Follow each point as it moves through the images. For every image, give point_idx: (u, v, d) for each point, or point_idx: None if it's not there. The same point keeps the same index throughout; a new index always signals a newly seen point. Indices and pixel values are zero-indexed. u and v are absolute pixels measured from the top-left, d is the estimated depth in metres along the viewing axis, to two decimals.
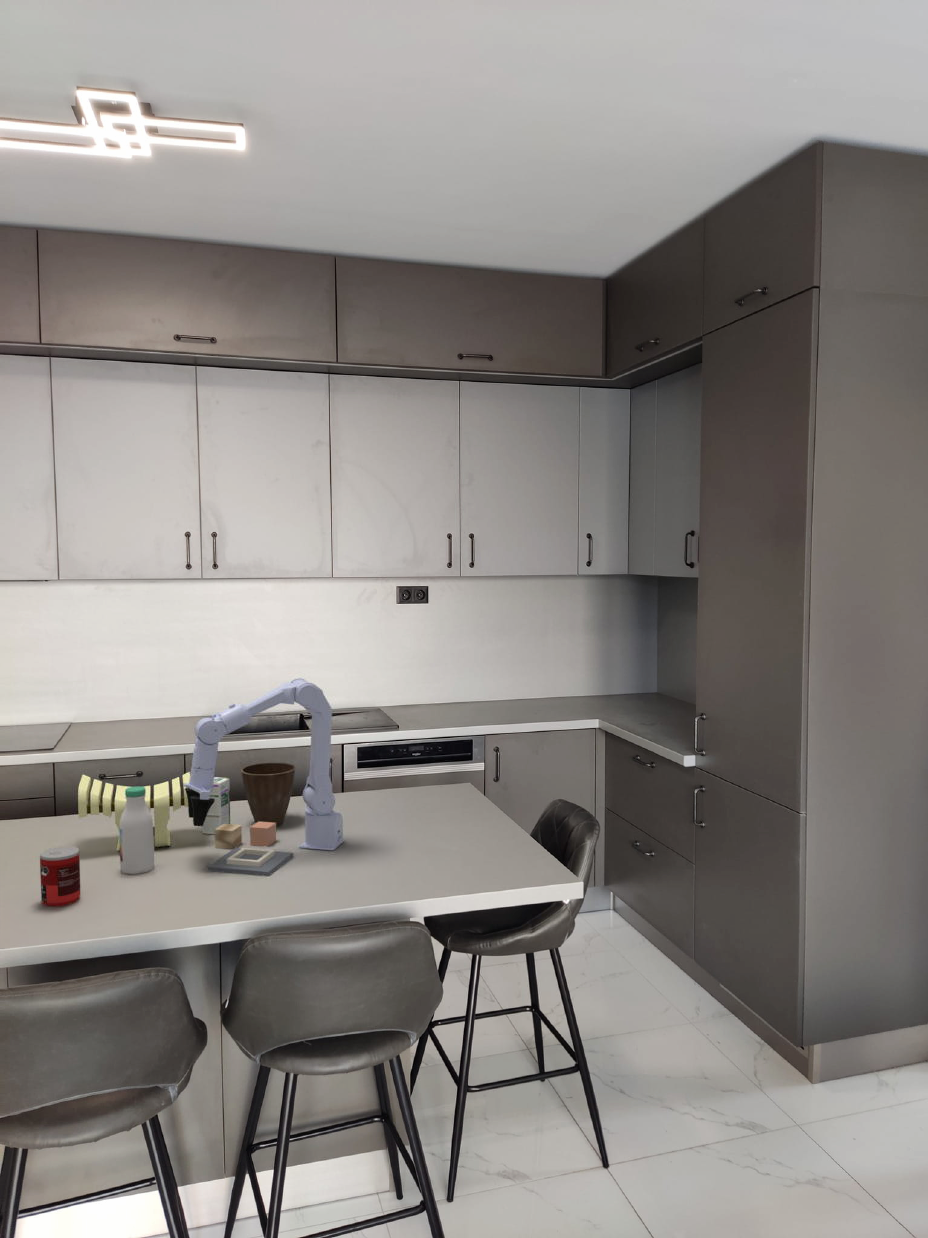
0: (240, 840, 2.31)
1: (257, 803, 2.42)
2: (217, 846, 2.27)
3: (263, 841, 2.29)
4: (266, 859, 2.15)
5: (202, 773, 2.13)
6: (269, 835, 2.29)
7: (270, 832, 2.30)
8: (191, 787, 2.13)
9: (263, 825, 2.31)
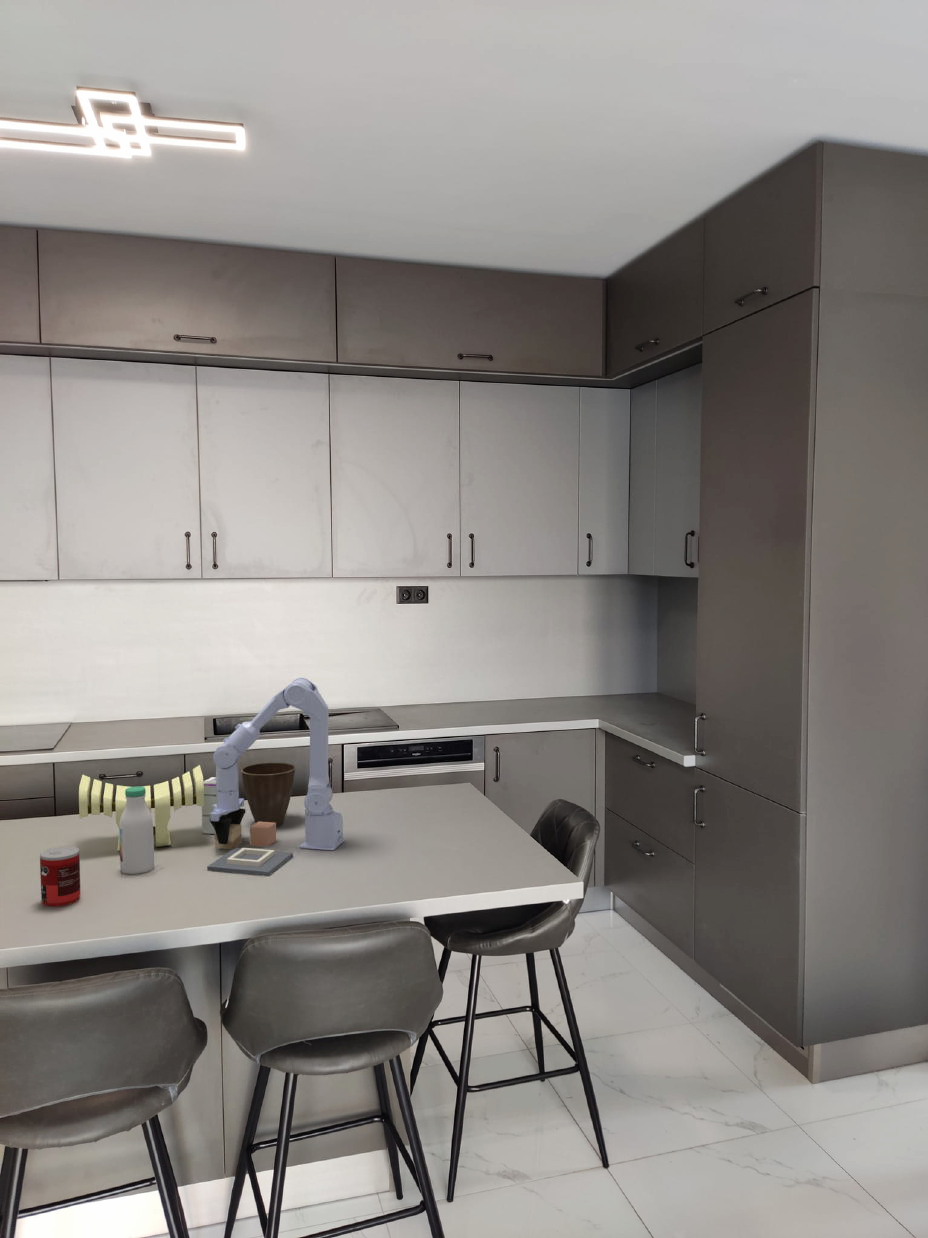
0: (240, 840, 2.31)
1: (257, 803, 2.42)
2: (217, 846, 2.27)
3: (263, 841, 2.29)
4: (266, 859, 2.15)
5: (220, 795, 2.26)
6: (269, 835, 2.29)
7: (270, 832, 2.30)
8: (215, 808, 2.27)
9: (263, 825, 2.31)
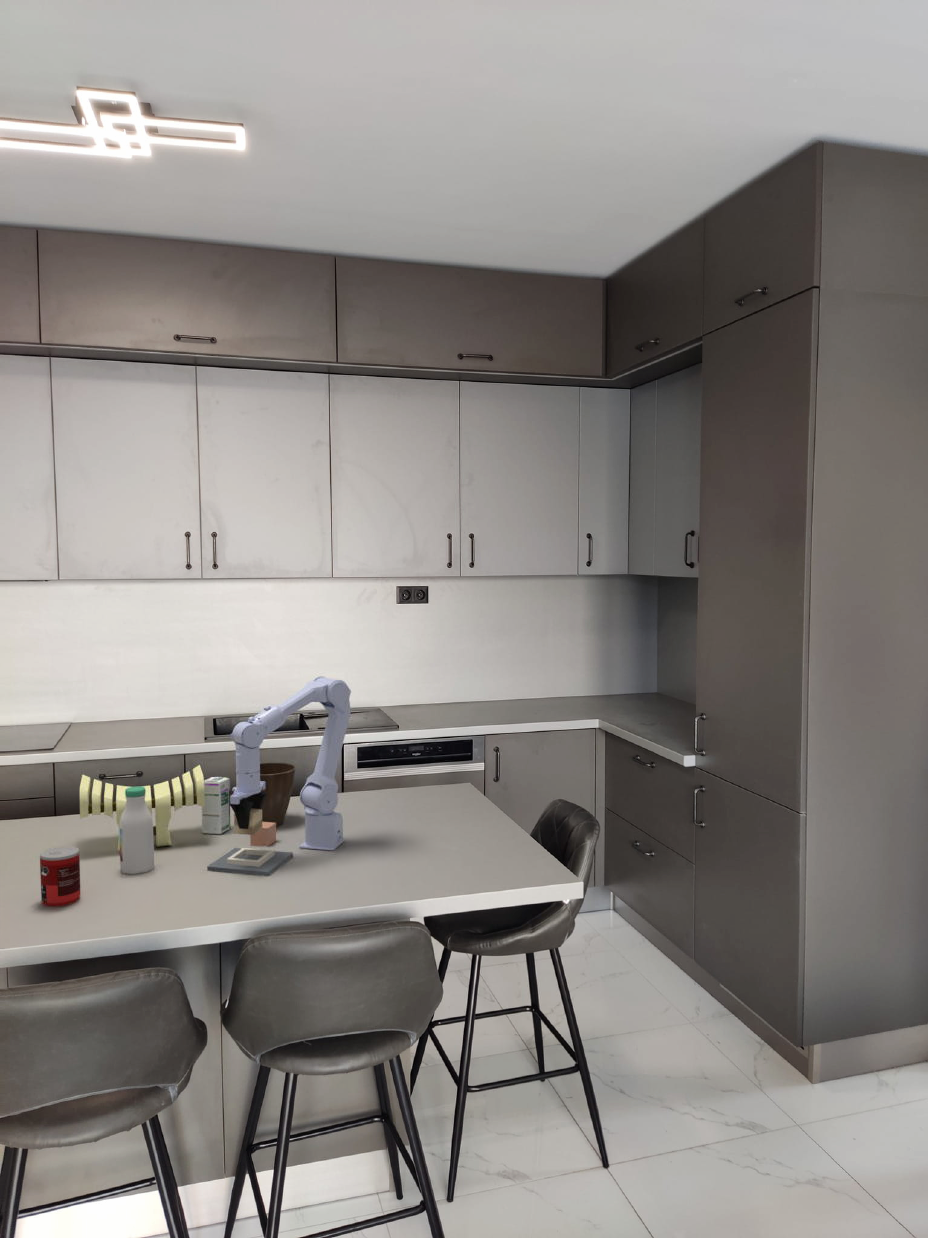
0: (261, 825, 2.18)
1: None
2: (236, 831, 2.14)
3: (263, 841, 2.29)
4: (266, 859, 2.15)
5: (240, 777, 2.13)
6: (269, 835, 2.29)
7: (270, 832, 2.30)
8: (235, 791, 2.14)
9: (263, 825, 2.31)
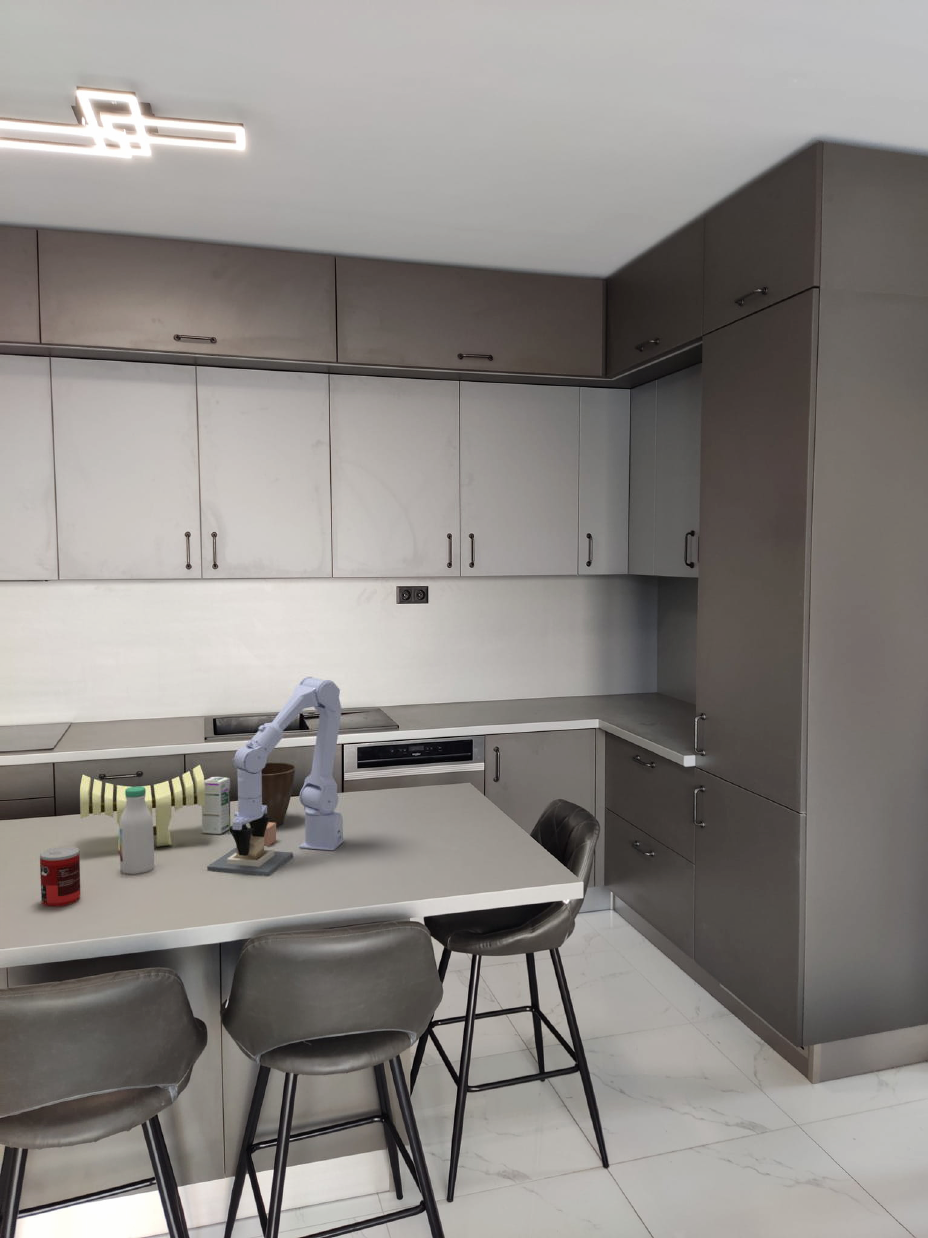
0: (263, 853, 2.17)
1: None
2: None
3: None
4: (266, 859, 2.15)
5: (242, 802, 2.12)
6: (269, 835, 2.29)
7: (270, 832, 2.30)
8: (237, 816, 2.14)
9: None
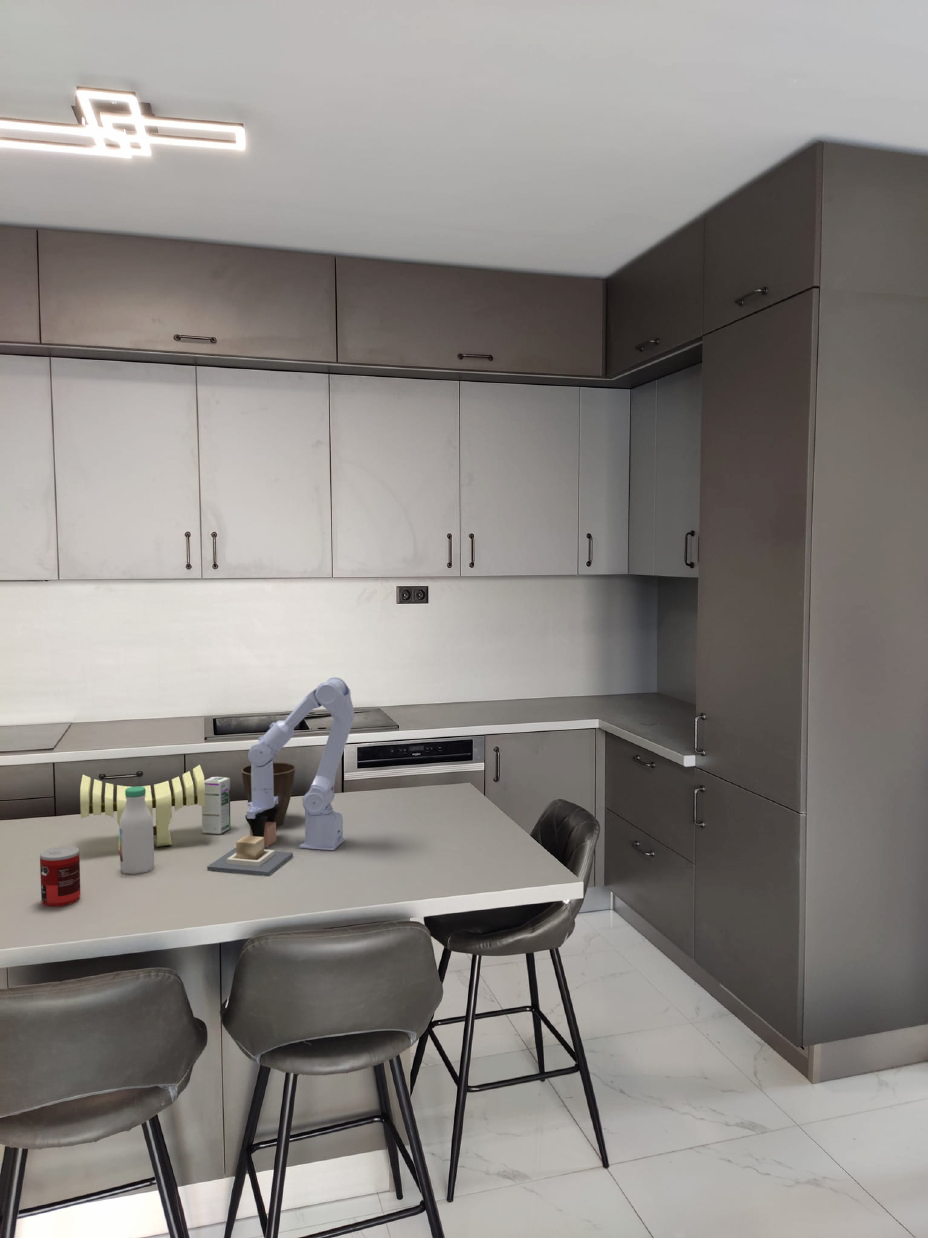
0: (263, 853, 2.17)
1: None
2: None
3: None
4: (266, 859, 2.15)
5: (255, 793, 2.28)
6: (269, 835, 2.29)
7: (270, 831, 2.30)
8: None
9: None
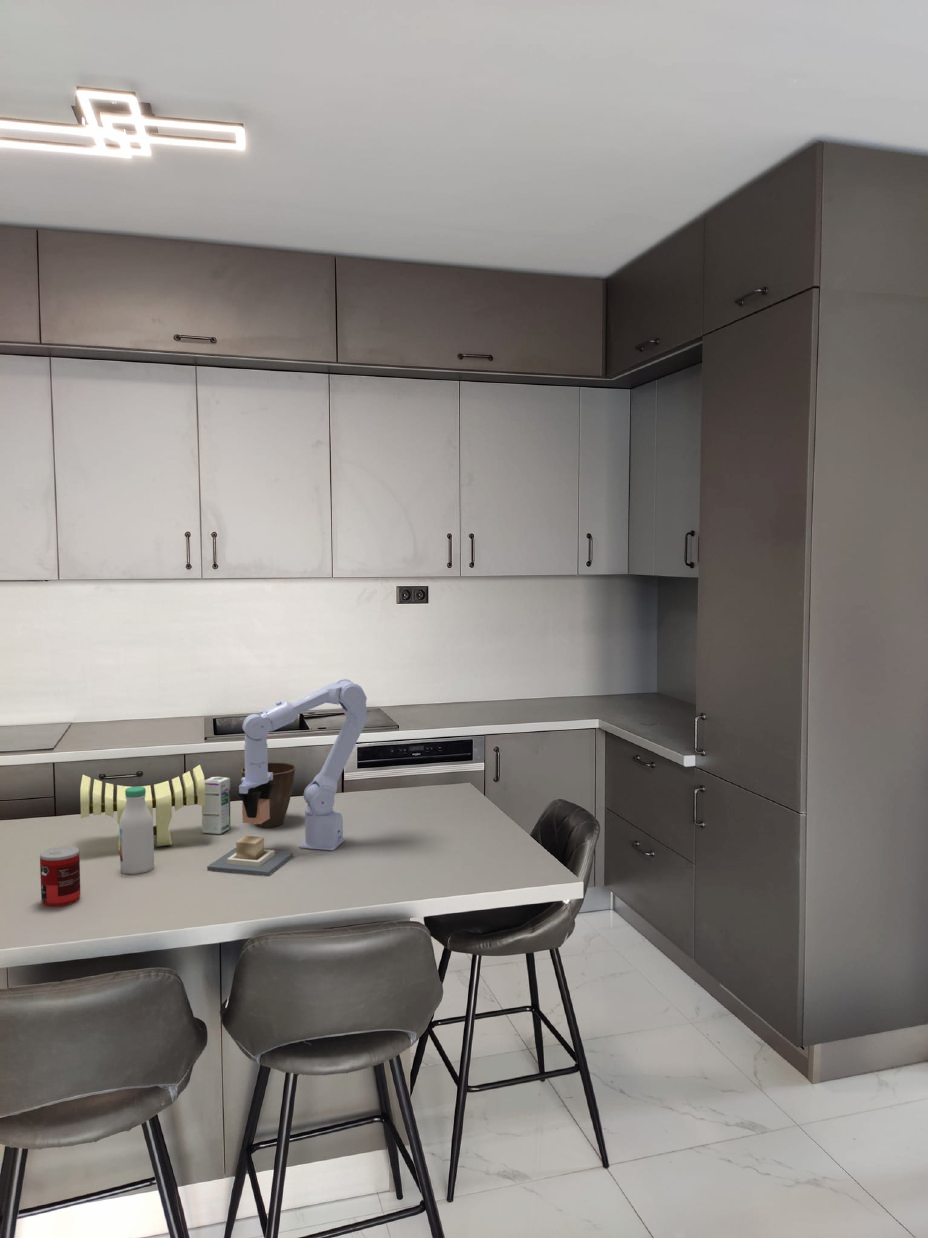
0: (263, 853, 2.17)
1: None
2: None
3: (256, 818, 2.21)
4: (266, 859, 2.15)
5: (249, 768, 2.20)
6: (262, 812, 2.21)
7: (263, 808, 2.22)
8: (243, 781, 2.22)
9: None
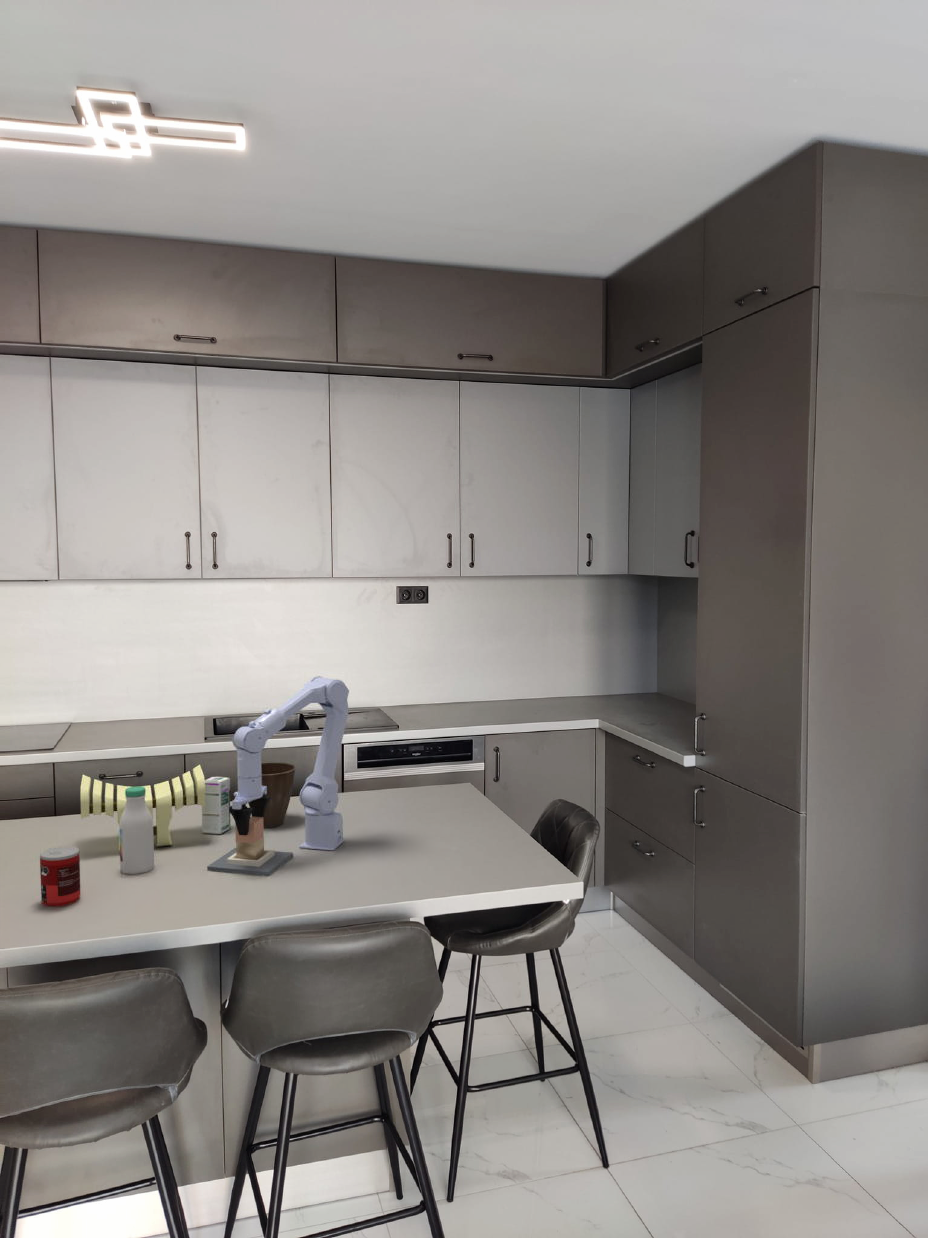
0: (263, 853, 2.17)
1: None
2: None
3: (250, 837, 2.13)
4: (266, 859, 2.15)
5: (242, 782, 2.12)
6: (255, 831, 2.13)
7: (257, 827, 2.14)
8: (236, 796, 2.14)
9: (250, 820, 2.15)
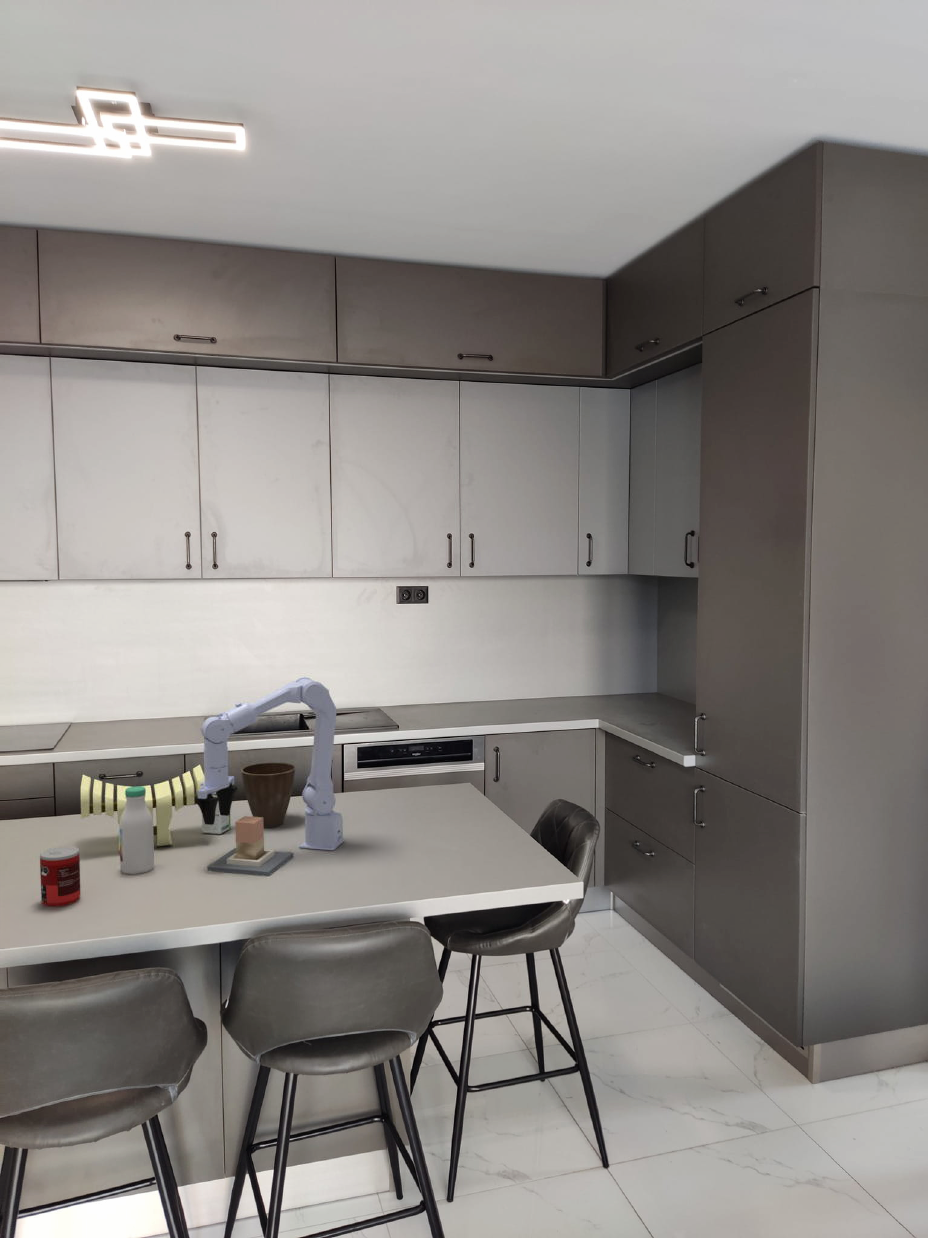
0: (263, 853, 2.17)
1: (257, 803, 2.42)
2: None
3: (250, 837, 2.13)
4: (266, 859, 2.15)
5: (208, 772, 2.14)
6: (255, 831, 2.13)
7: (257, 827, 2.14)
8: (203, 786, 2.15)
9: (250, 820, 2.15)
